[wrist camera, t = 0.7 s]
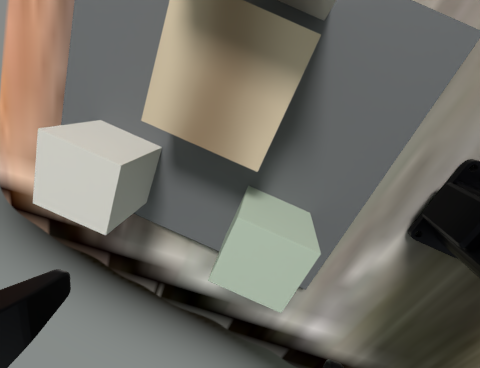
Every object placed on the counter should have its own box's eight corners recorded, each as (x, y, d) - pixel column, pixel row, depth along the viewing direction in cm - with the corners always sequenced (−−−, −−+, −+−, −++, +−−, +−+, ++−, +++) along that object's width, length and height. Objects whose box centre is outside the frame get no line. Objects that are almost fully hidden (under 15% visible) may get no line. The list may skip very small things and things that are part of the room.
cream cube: (162, 147, 18) (121, 165, 13) (146, 202, 20) (105, 235, 15) (100, 120, 18) (38, 128, 13) (90, 177, 20) (32, 202, 15)
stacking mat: (470, 36, 14) (759, -54, 6) (304, 281, 21) (320, 401, 13) (102, -126, 14) (-165, -461, 6) (65, 175, 21) (-74, 226, 13)
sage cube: (310, 212, 18) (321, 253, 13) (280, 262, 20) (281, 313, 15) (248, 185, 18) (237, 216, 13) (224, 237, 20) (208, 280, 15)
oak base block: (310, 50, 14) (321, 34, 11) (262, 155, 17) (257, 172, 13) (203, 2, 14) (176, -29, 11) (171, 115, 17) (141, 120, 13)
